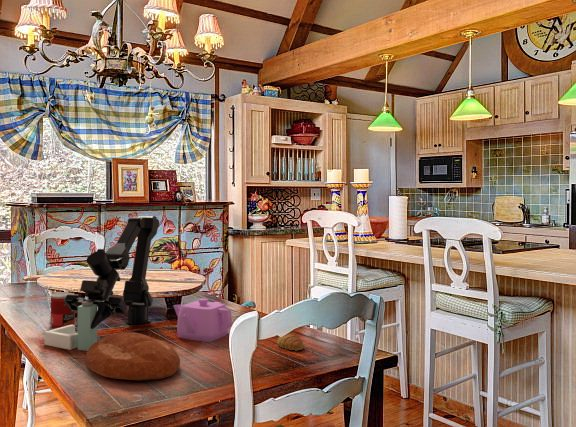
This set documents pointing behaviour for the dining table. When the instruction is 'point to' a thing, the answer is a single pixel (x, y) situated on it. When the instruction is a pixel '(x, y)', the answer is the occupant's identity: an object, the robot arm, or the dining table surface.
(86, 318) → the post
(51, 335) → the cradle
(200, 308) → the teakettle
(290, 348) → the pastry
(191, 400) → the dining table surface
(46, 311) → the dining table surface
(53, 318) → the canned food
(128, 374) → the bread
